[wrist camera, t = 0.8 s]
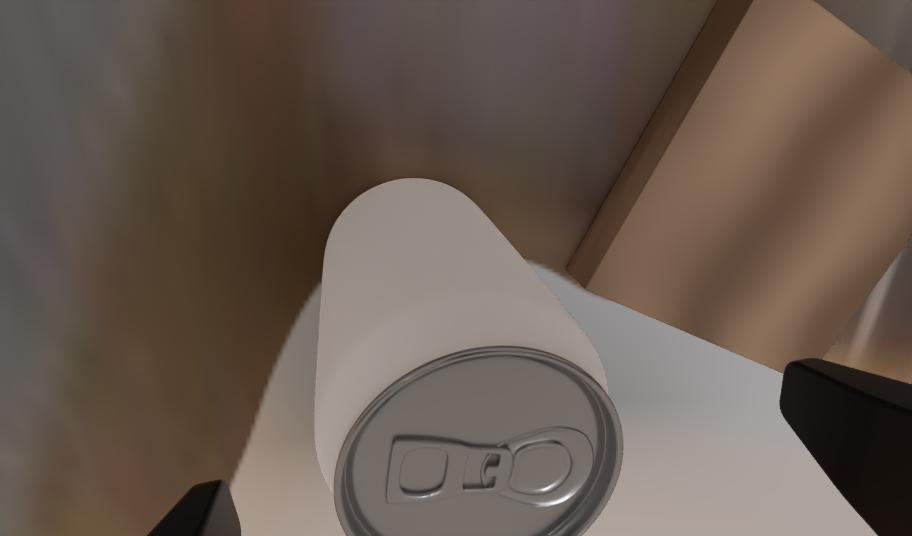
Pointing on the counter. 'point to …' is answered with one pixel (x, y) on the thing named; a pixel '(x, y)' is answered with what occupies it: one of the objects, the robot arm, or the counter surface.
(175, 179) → the counter surface
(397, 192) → the can
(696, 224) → the base
